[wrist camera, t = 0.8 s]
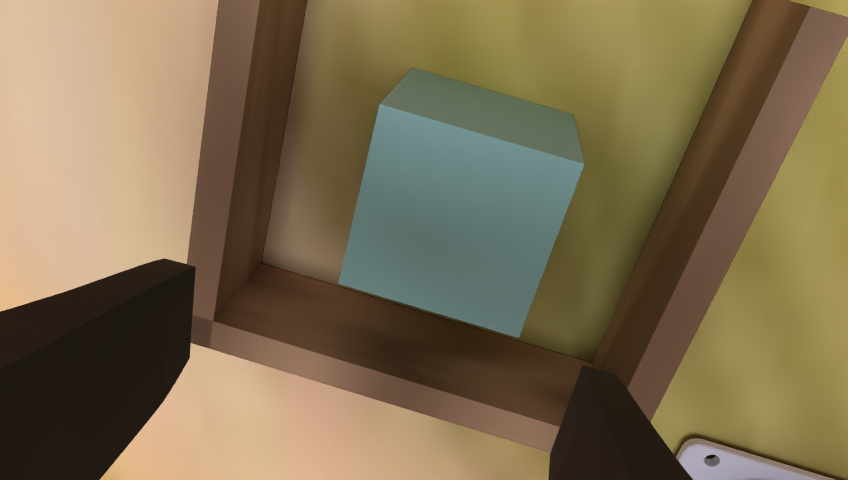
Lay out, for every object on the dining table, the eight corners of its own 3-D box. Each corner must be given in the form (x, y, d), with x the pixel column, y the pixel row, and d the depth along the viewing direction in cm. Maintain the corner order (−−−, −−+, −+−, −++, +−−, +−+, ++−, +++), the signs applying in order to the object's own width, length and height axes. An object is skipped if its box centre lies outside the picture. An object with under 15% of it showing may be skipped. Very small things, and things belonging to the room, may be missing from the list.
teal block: (573, 113, 21) (584, 164, 16) (521, 257, 23) (519, 338, 18) (413, 67, 21) (379, 103, 16) (376, 214, 23) (337, 283, 18)
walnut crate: (792, 3, 18) (855, 19, 15) (609, 394, 24) (623, 475, 21) (294, -140, 19) (237, -158, 15) (230, 279, 25) (177, 338, 21)
